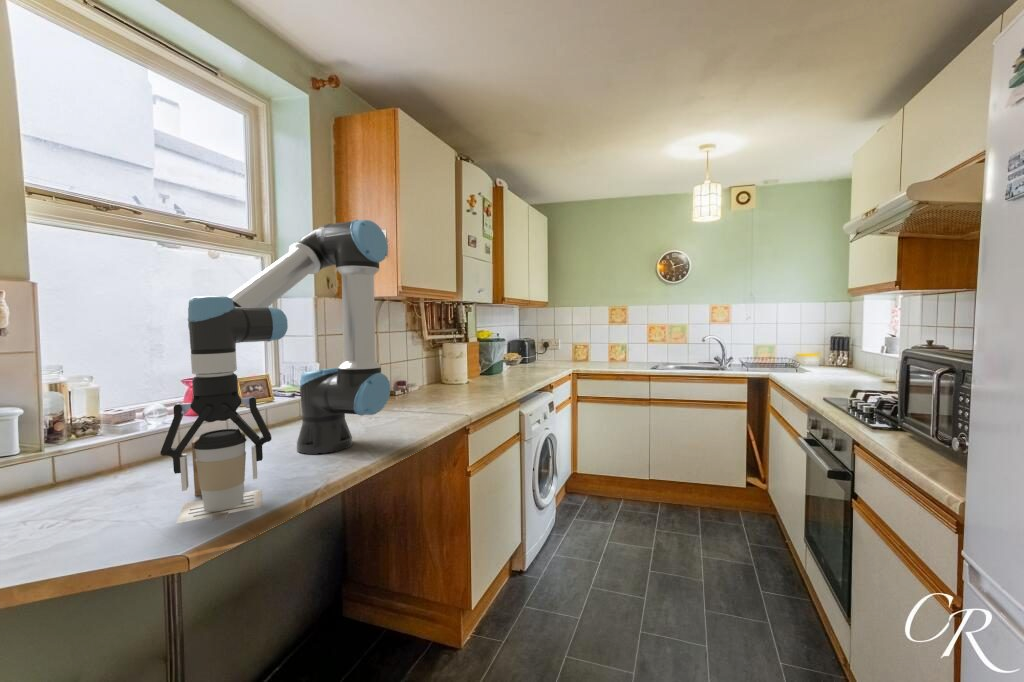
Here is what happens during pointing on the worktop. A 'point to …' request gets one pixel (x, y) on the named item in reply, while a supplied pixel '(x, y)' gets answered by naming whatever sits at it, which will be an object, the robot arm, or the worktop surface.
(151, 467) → the worktop surface
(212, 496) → the coffee cup
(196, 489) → the walnut block
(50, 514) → the worktop surface
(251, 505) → the cream flat slotted plate
